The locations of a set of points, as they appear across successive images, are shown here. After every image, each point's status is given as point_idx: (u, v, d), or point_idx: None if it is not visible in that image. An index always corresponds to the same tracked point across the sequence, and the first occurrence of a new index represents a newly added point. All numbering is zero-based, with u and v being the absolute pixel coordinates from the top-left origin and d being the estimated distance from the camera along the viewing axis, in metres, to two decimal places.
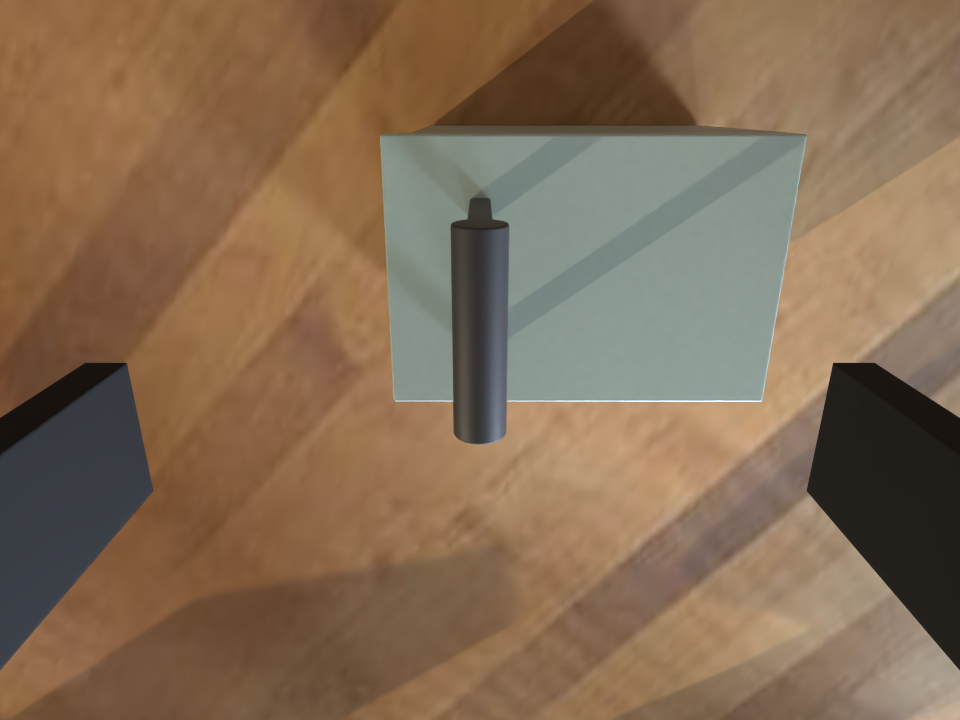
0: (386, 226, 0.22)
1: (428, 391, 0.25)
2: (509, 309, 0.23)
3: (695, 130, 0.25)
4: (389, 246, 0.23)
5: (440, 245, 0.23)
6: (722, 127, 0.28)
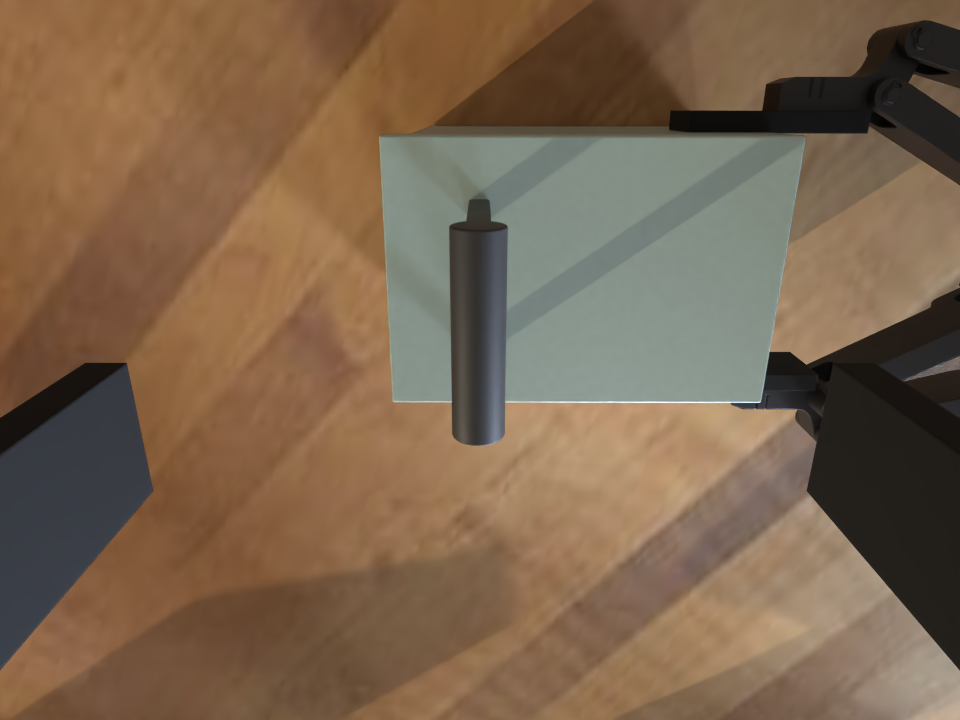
0: (385, 227, 0.22)
1: (428, 391, 0.25)
2: (508, 310, 0.23)
3: None
4: (388, 247, 0.23)
5: (439, 246, 0.23)
6: None
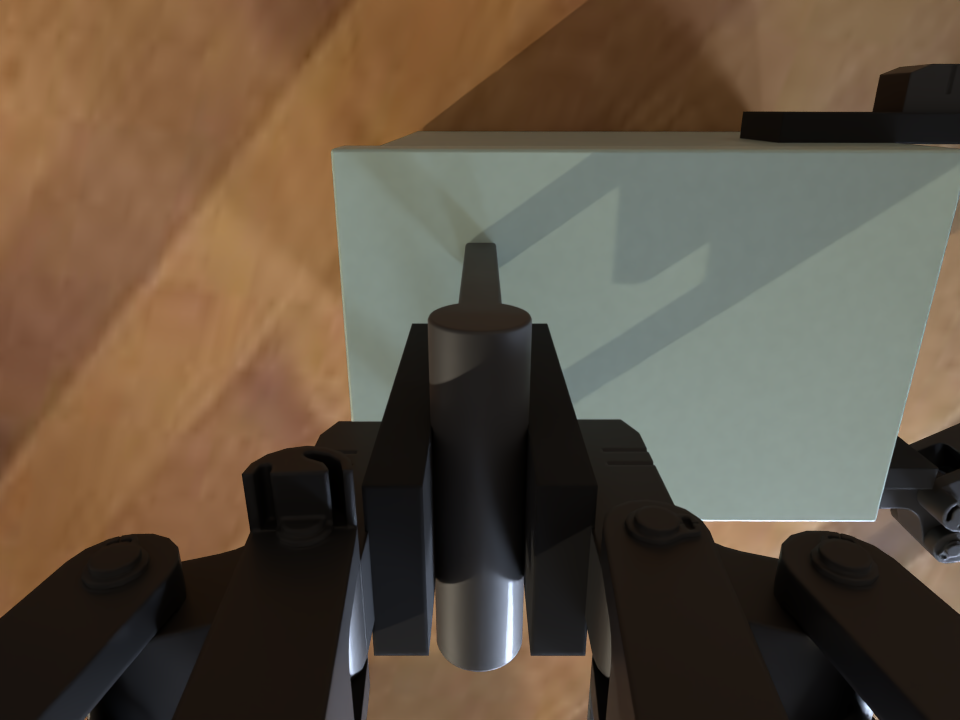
0: (343, 282, 0.15)
1: None
2: None
3: None
4: (348, 310, 0.16)
5: (422, 309, 0.15)
6: None
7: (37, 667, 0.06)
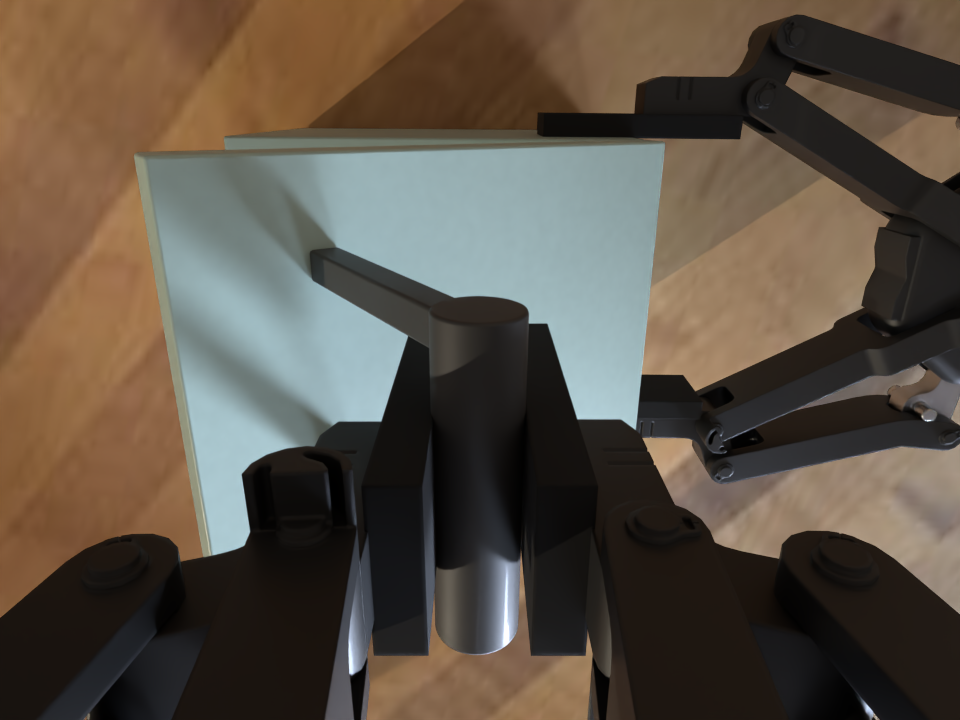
0: (173, 312, 0.13)
1: None
2: (375, 400, 0.16)
3: None
4: (181, 344, 0.13)
5: (269, 328, 0.14)
6: None
7: (37, 668, 0.06)
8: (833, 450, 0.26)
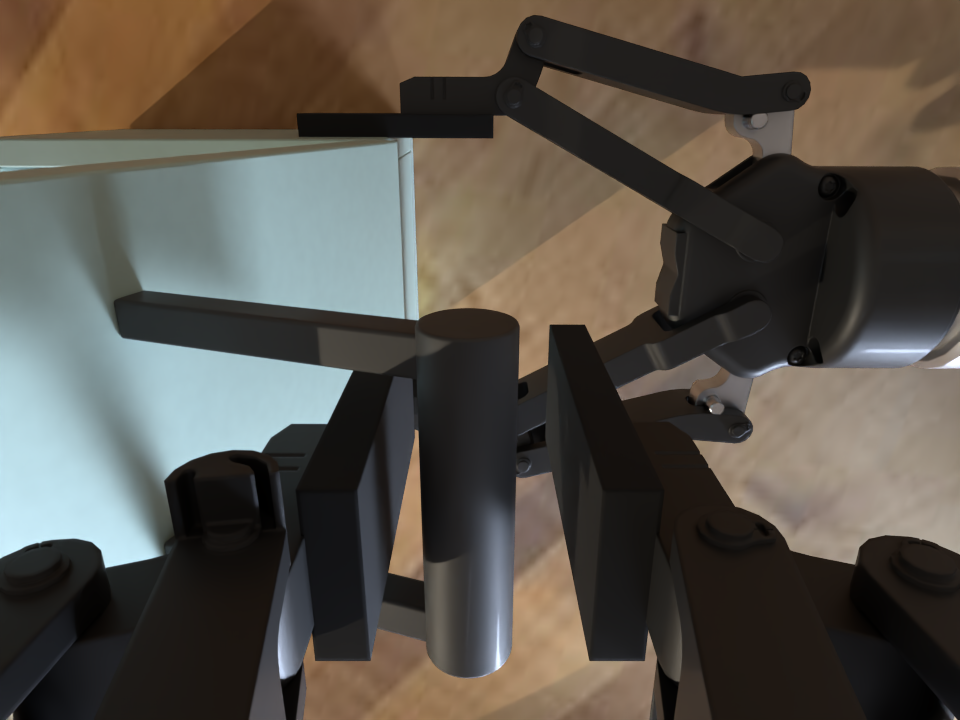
0: None
1: None
2: None
3: None
4: None
5: (78, 413, 0.10)
6: None
7: None
8: None
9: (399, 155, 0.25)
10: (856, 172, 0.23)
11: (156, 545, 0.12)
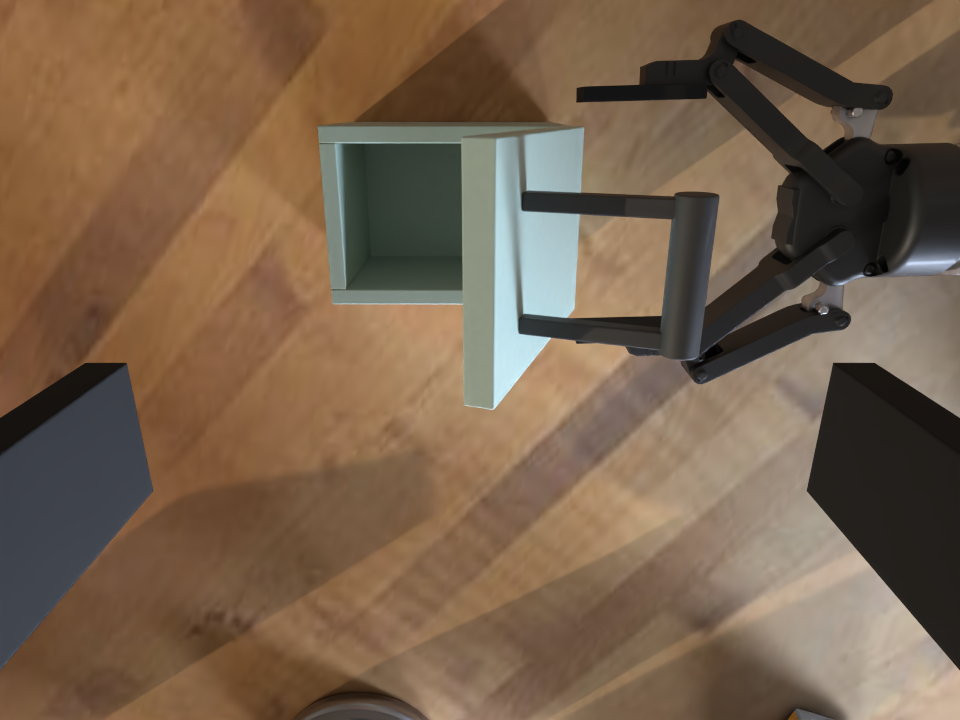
0: (497, 231, 0.22)
1: (505, 385, 0.25)
2: (528, 286, 0.27)
3: (518, 124, 0.36)
4: (495, 251, 0.22)
5: (512, 240, 0.24)
6: None
7: None
8: (768, 346, 0.40)
9: None
10: (908, 147, 0.36)
11: (517, 317, 0.26)
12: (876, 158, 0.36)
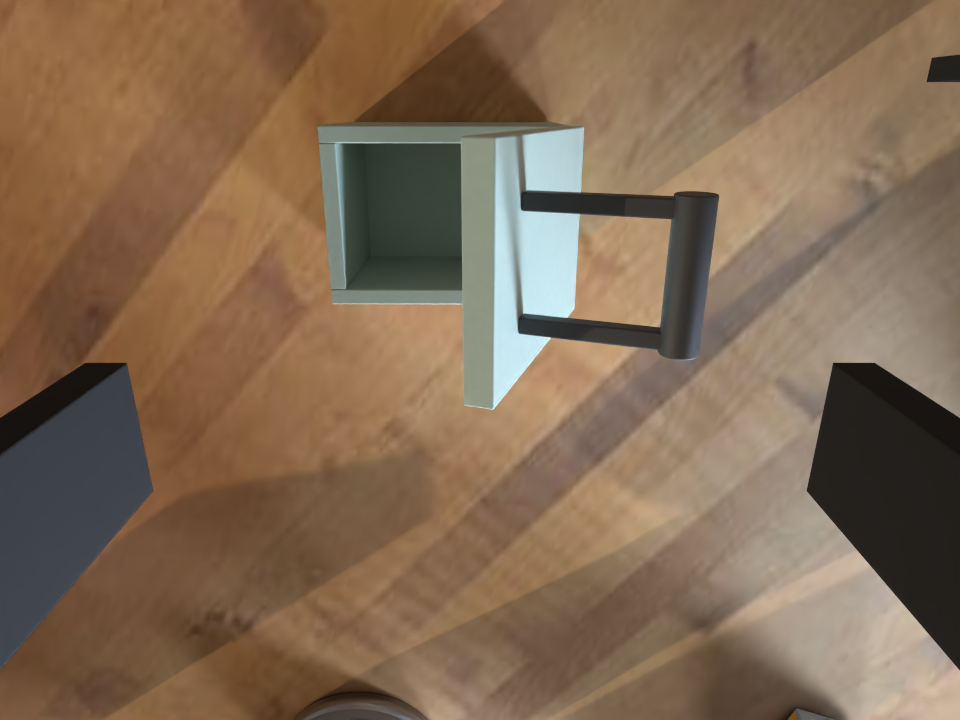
0: (496, 230, 0.22)
1: (505, 385, 0.25)
2: (527, 286, 0.27)
3: (518, 124, 0.36)
4: (495, 251, 0.22)
5: (512, 240, 0.24)
6: None
7: None
8: None
9: None
10: None
11: (517, 317, 0.26)
12: None
